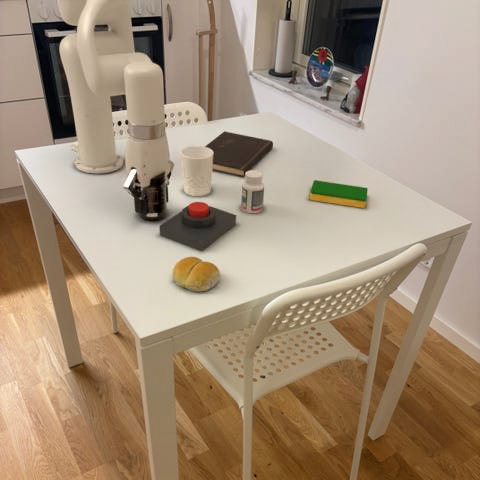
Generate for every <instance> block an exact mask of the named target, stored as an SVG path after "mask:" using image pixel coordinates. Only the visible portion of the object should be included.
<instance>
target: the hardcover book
mask: <svg viewBox="0 0 480 480" xmlns="http://www.w3.org/2000/svg"><path fill="white" fill-rule="evenodd" d="M204 147H207V148H209V149H211V150H212V151H213V169H212V172H218V173H222V174H226V175H231V176H235V177H240V178H244V177H245V173H246V172H247V171H250V170H252V169H253V168H254V167H255V166H256V165H257V164H258V163H259V162H260V161H261V160H262V158H264V157H265V155H267V154H268V153H269V152H270V151H271V150H272V149H273V147H274V142H273V141H272V140H270V139H264V138H259V137H255V136H249V135H245V134H240V133H234V132H230V131H222V132H221V133H220V134H219V135H218V136H216V137H215V138H214V139H212V141H210V142H209V143H207V144H206V145H204Z"/></svg>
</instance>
